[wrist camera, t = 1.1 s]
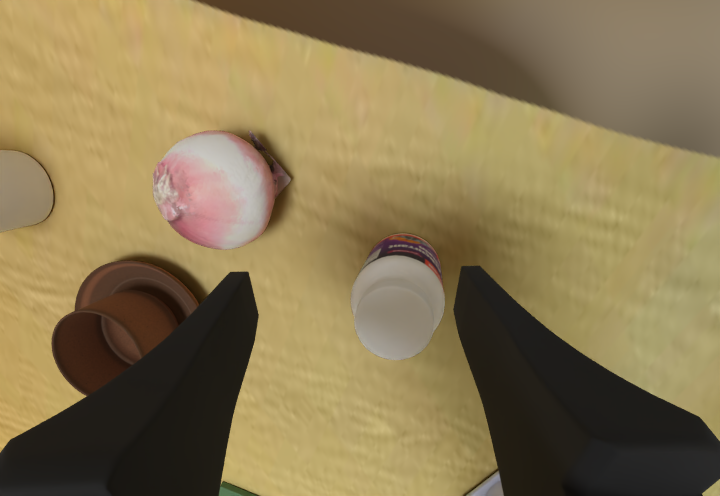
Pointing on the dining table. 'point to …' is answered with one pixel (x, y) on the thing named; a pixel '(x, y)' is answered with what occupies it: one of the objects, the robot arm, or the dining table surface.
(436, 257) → the pill bottle
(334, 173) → the dining table surface
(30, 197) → the mug
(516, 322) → the robot arm
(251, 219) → the onion
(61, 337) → the cup and saucer
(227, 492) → the green light switch
